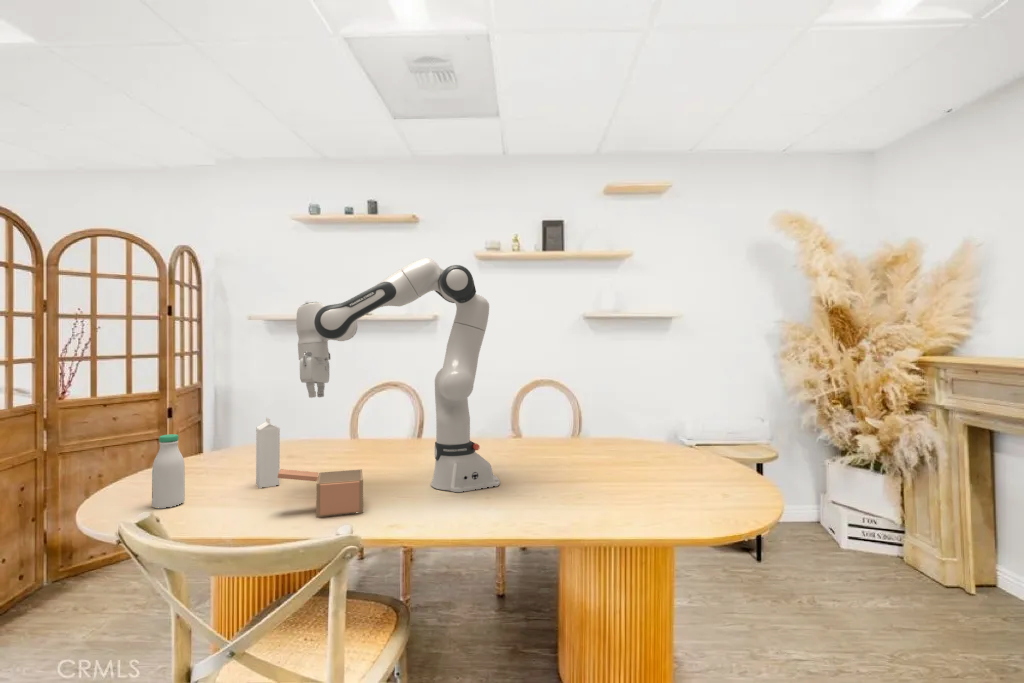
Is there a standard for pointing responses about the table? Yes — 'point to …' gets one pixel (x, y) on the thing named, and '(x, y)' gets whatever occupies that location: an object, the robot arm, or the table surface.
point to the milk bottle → (168, 474)
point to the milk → (267, 454)
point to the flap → (298, 475)
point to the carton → (339, 493)
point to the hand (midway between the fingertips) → (316, 397)
